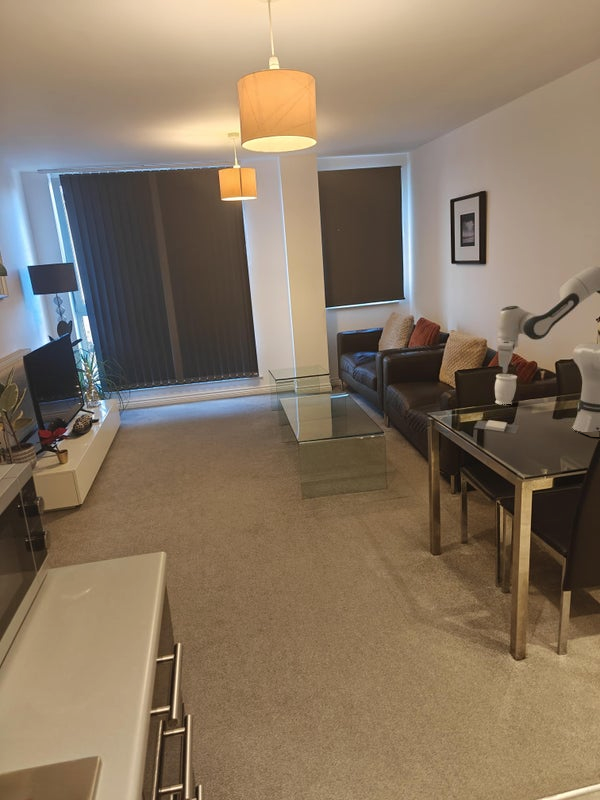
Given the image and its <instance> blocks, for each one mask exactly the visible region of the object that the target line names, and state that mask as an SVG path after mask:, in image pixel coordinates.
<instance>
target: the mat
mask: <svg viewBox="0 0 600 800" xmlns="http://www.w3.org/2000/svg"><path fill="white" fill-rule="evenodd" d="M487 422H488V420H479V419H478V420H477V421H476V423H475V425H474V427H473V429H481V430H485V431H490V430H489V429H485V427H486V424H487ZM518 430H519V425H515V424H508V423H507V426H506V428H505V430H504V432H503V431H498V432H501V433H506V434H507V433H508V434H514V435H517V432H518ZM493 431H494V432H497V431H496V430H492V432H493Z"/></svg>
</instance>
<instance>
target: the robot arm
mask: <svg viewBox="0 0 600 800" xmlns="http://www.w3.org/2000/svg"><path fill="white" fill-rule="evenodd" d="M595 293H598V294H599V295H600V267H599V266H596V265H593V266H590V267H587V268H585V269H583V270H581V271H580V272H579V273H577V274H575V275H573V276H572V277H571V278H570V279H568V280H567V281H566V282H565V283H563V284H562V286H560V288H559V294H558V296H559V301H557V303H555V304H554V305H553V306H552V307H551V308H550V309H548V310H547V311H545V312H544V313H543V314H535V313H532V312H529V311H526V310H524V309H523V308H521V307H520V306H518V305H509V306H506V307H503V308H502V309H501V310H500V313H499V318H498V323H497V325H498V326H497V328H498V333H497V338H496V339H497V341H496V346H497V350H498V366H499V367H501V368H502V374H508V373H507V372H508V371H509V370H508V368H509V364H510V362H511V360H512V359H513V355H514V353H513V352H514V351H515V348H517V347H518V346H519V335H521V334H522V335H525V336H526V337H529V338H530V339H531V340H536V341H538V340H541V339H543V338H546V336H547V335H548V334H549V333H550V331H551V330H552V328H553V327H554V326H555V325H556V324H557V323H559V322H560V321H561V320H562V319H564V318H565V317H566V316H567V315H568V314H569V313H571V312H572V311H573V310H574V309H575V308H576V307H578V305H579V304H581V303H582V302H583V301H585V300H586V299H588V298H589V297H590V296H592V295H593V294H595ZM572 359H573V361H574V363H575V364H576V365H577V367H578V369H579V372H580V375H581V380H582V381H581V382H582V385H581V392H580V393H581V394H580V398H579V400H578V403H577V415H576V418H575V420H574V423H573V424H572V425H573V426H572V427H571V429H572V428H573V429H574V430H577V431H581V432H593V431H600V344H599V343H594V342H581V343H578V344H577V345H576V346H575V348H574V349H573V351H572ZM573 429H572V430H573ZM574 430H573V431H574Z"/></svg>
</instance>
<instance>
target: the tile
mask: <svg viewBox="0 0 600 800" xmlns="http://www.w3.org/2000/svg"><path fill="white" fill-rule="evenodd" d="M487 421H488V422H487V424H486V427H485V429H484V430H486V429H489V430H488V431H493V430H496V431H495V432H499V431H503V432H502V433H505V432H504V430H505V428H506V426H507V424H508V422H505V421H497V420H490V419H489V420H487Z"/></svg>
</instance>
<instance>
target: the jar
mask: <svg viewBox="0 0 600 800" xmlns="http://www.w3.org/2000/svg"><path fill="white" fill-rule="evenodd" d="M495 377H496V379H495V383H494V395H495V399H496V400H495V401H494V402H495V404H496V405H500V406H507V405H506V404H511V405H513V400H514V397H515V393H516V391H517V390H516V389H517V380H518V376H517V375H515V374H511V373H498V374H496V375H495ZM502 404H503V405H502ZM504 404H505V405H504Z"/></svg>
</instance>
